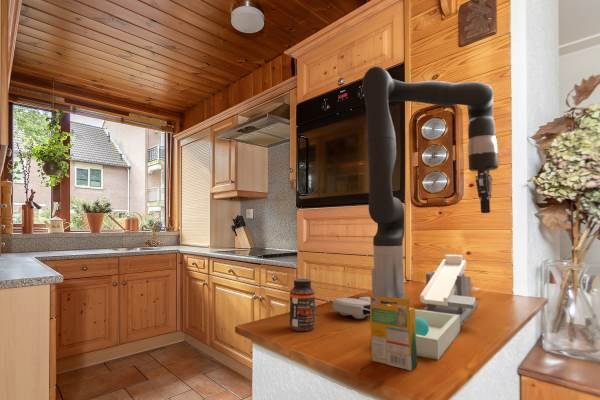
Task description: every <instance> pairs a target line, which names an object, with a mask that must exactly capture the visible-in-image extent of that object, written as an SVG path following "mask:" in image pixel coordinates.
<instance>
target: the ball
mask: <svg viewBox="0 0 600 400" xmlns="http://www.w3.org/2000/svg"><path fill="white" fill-rule="evenodd" d="M415 324H416V334H417V335H423V336H426V335H427V333H428V331H429V326H428V324H427V322H426V321H425V320H424V319H422V318H419V317H416V318H415Z"/></svg>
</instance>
